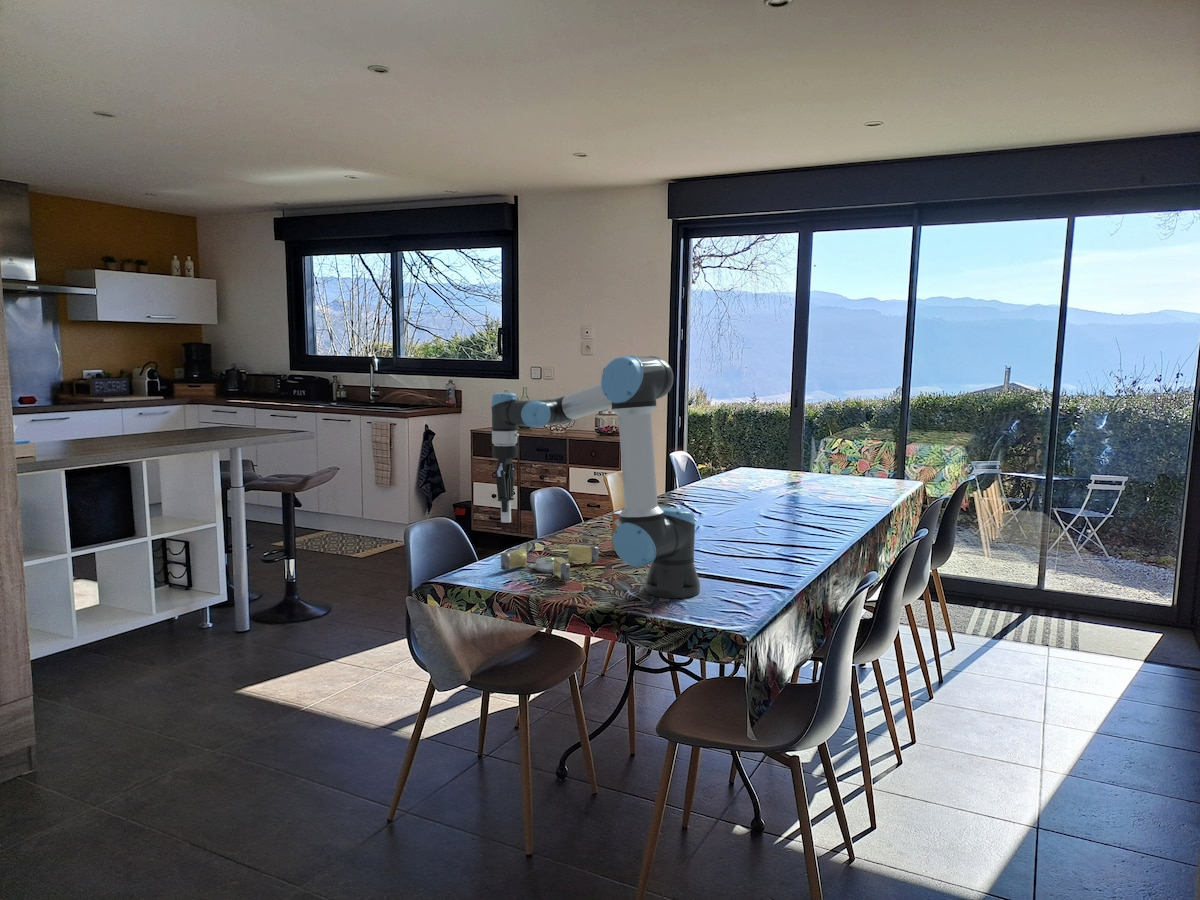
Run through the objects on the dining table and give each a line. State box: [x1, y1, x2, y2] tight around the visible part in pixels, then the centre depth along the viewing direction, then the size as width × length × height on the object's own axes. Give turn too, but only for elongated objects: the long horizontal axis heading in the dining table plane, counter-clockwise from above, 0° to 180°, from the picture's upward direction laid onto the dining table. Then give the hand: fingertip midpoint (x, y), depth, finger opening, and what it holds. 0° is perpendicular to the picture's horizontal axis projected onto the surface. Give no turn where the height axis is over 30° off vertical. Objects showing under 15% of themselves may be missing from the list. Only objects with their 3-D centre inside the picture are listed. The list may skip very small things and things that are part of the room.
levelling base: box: [529, 556, 555, 575], centre depth 243 cm, size 12×11×3 cm
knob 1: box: [553, 556, 571, 581], centre depth 231 cm, size 10×3×6 cm, turn 18°
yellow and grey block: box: [500, 548, 528, 571], centre depth 241 cm, size 10×3×6 cm, turn 142°
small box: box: [611, 509, 623, 552], centre depth 265 cm, size 8×6×13 cm
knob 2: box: [566, 544, 599, 564], centre depth 248 cm, size 10×3×6 cm, turn 74°
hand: (506, 522), depth 241 cm, fingers closed
